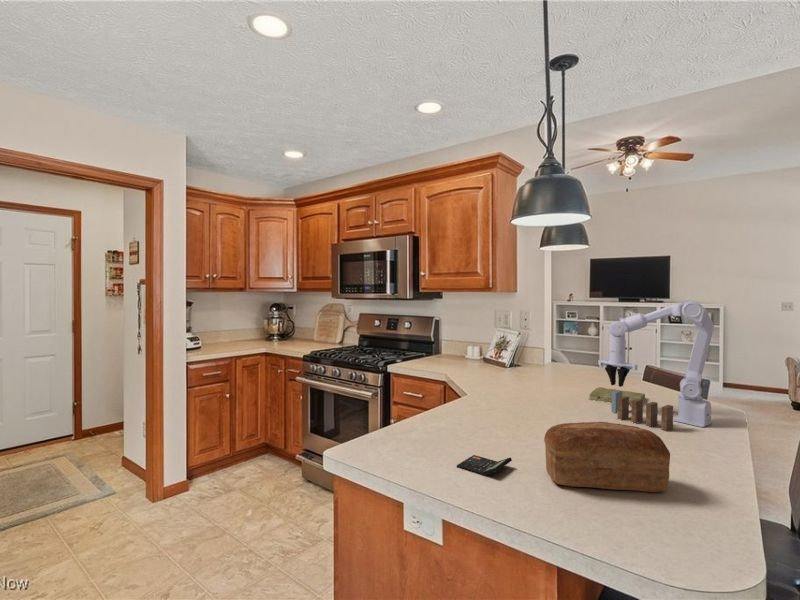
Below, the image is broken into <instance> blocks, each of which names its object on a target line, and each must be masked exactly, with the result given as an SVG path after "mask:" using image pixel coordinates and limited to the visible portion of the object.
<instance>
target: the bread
mask: <svg viewBox="0 0 800 600" xmlns="http://www.w3.org/2000/svg"><path fill="white" fill-rule="evenodd" d="M543 442H544V445H545V448H544V450H545V468H546V472H547V474H548V476H549V478H550V479H551V480H552V481H553V482H554V483H556V484H558V485H560V486H561V485H562V486H566V487H573V488H574V487H575V488H577V487H579V488H581V487H583V488H593V489H594V488H598V489H602V490H605V489H606V490H625V491H627V490H628V491H637V492H638V491H639V492H647V493H648V492H649V493H656V492H658V493H659V492H660V493H661V492H665V491H666V490H667V489H668V486H669V481H670V463H671V462H670V461H671V452H670V451H669V448H668V447H667V446H666V444H665V443H664V441H663V440H662V438H661V437H660V436H659V435H657V434H656V433H655V432H653V431H651V430H649V429H645V428H641V427H639V426H633V425H628V424H622V423H621V424H620V423H613V422H608V421H607V422H606V421H594V422H593V421H592V422H591V421H589V422H586V421H585V422H582V421H581V422H568V423H567V422H566V423H561V424H556V425H553V426H551V427H549V428H548V429H547V430H546V432H545V434H544V438H543Z"/></svg>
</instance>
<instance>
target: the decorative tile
mask: <svg viewBox="0 0 800 600" xmlns="http://www.w3.org/2000/svg"><path fill="white" fill-rule="evenodd" d="M614 391H622V397H623V396H627V397H629V405H630V406H629V407H631V402H632V401H633V400H636V399H642V400H643V401H645V400H646V395H645V393H642V392H636V391H627V390H620V389H615V388H614V389H613V388H605V387H596V388H595V389H594V390H592V391H591V392H590V394H589V397H588V400H589V401H593V400H595V402H601V401H604V402H603V403H607V402H610V403H609V404H612V392H614ZM644 399H645V400H644Z"/></svg>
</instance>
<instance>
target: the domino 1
mask: <svg viewBox="0 0 800 600" xmlns="http://www.w3.org/2000/svg"><path fill="white" fill-rule="evenodd" d="M622 391H623V390H622ZM622 391H614V392H612V403H611V413H612V412H613V414H618V413H617V412H618V398H619V397H622Z"/></svg>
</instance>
